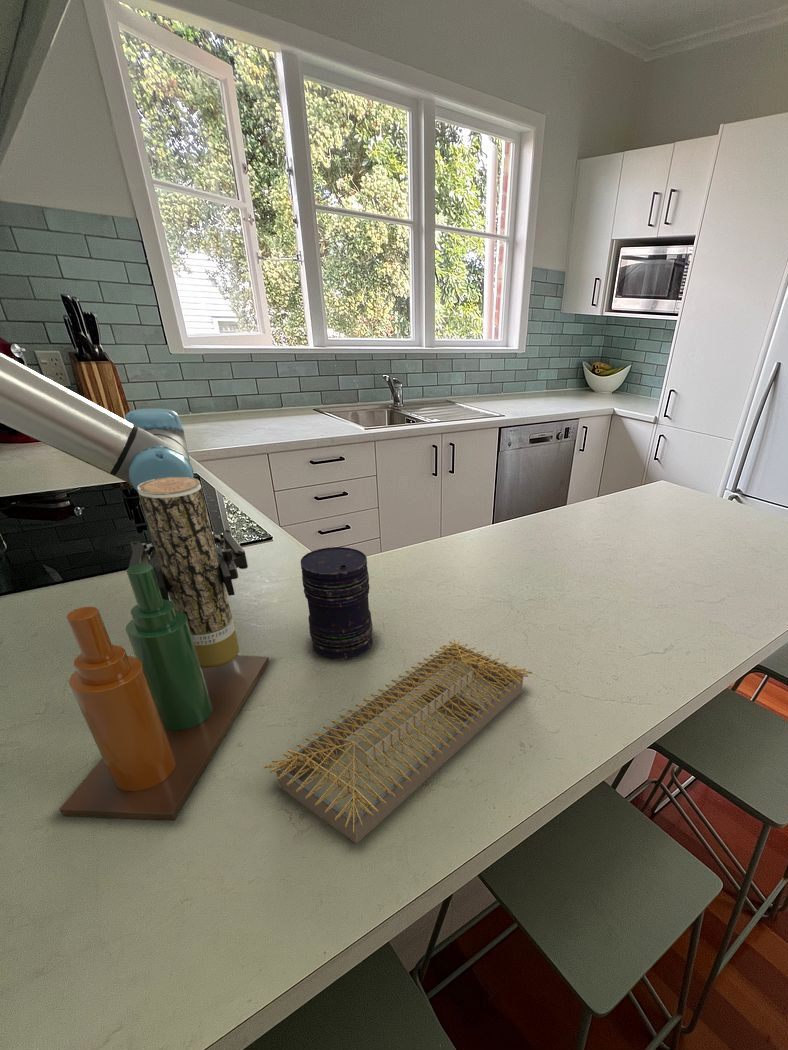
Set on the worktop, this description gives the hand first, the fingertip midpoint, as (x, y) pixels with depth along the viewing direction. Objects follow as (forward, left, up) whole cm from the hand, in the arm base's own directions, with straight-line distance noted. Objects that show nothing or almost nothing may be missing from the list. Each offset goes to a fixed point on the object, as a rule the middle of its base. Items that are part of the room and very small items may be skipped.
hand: (197, 591), depth 68 cm
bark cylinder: (-2, +4, -13) cm, 14 cm away
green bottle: (-2, -6, -16) cm, 17 cm away
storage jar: (+14, +14, -16) cm, 26 cm away
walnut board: (-2, -7, -16) cm, 18 cm away
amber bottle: (-2, -16, -16) cm, 23 cm away
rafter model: (+28, -6, -16) cm, 33 cm away
